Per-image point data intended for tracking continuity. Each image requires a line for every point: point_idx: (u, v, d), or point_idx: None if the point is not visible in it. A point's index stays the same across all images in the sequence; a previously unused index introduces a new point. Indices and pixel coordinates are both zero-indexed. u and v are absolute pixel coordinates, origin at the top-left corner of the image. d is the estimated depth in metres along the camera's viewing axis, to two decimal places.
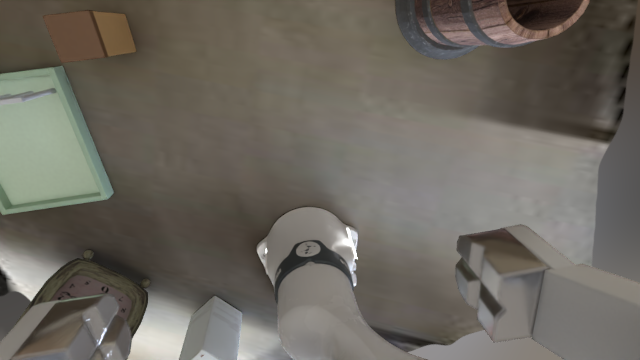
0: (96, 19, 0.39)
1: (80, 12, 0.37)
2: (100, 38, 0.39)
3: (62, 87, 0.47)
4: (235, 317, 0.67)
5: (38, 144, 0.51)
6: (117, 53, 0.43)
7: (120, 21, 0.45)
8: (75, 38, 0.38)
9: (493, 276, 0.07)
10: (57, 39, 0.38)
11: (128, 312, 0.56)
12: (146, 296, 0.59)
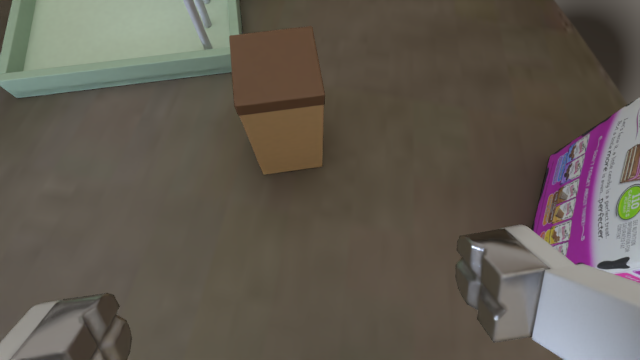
0: (309, 109, 0.20)
1: (320, 81, 0.19)
2: (273, 107, 0.19)
3: (209, 58, 0.29)
4: None
5: (129, 15, 0.33)
6: (250, 137, 0.22)
7: (310, 156, 0.26)
8: (272, 65, 0.19)
9: (493, 276, 0.07)
10: (271, 38, 0.20)
11: None
12: None
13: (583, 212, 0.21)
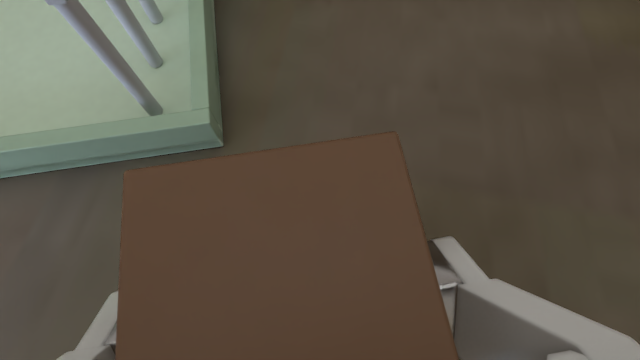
0: None
1: None
2: None
3: (150, 134, 0.15)
4: None
5: (20, 46, 0.18)
6: None
7: None
8: (269, 298, 0.05)
9: None
10: (264, 180, 0.06)
11: None
12: None
13: None
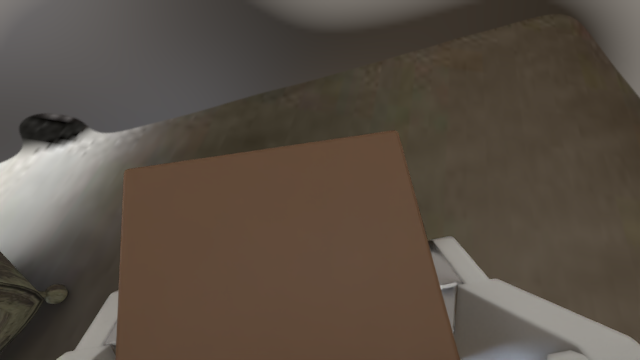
0: None
1: None
2: None
3: None
4: None
5: None
6: None
7: None
8: (270, 297, 0.05)
9: None
10: (265, 179, 0.06)
11: None
12: None
13: None
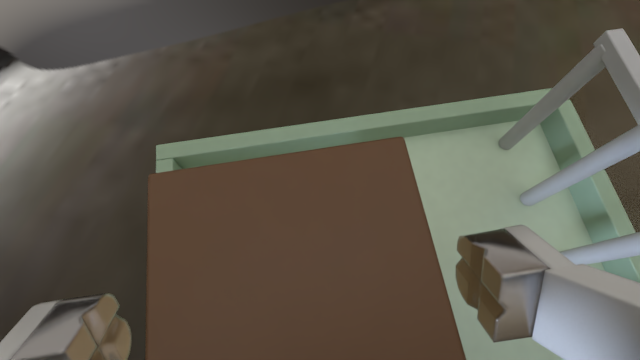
0: None
1: None
2: None
3: None
4: None
5: None
6: None
7: None
8: (287, 292, 0.06)
9: (493, 276, 0.07)
10: (280, 183, 0.06)
11: None
12: None
13: None
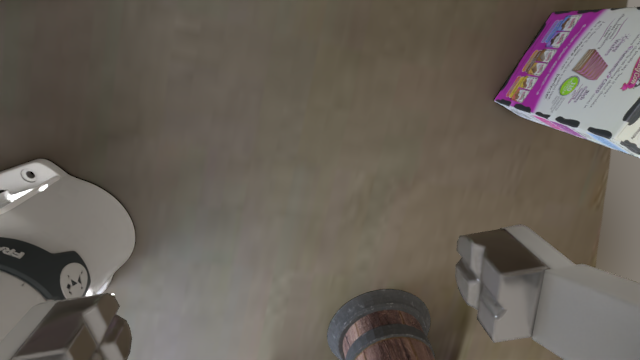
0: None
1: None
2: None
3: None
4: None
5: None
6: None
7: None
8: None
9: (493, 276, 0.07)
10: None
11: None
12: None
13: (546, 76, 0.35)
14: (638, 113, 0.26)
